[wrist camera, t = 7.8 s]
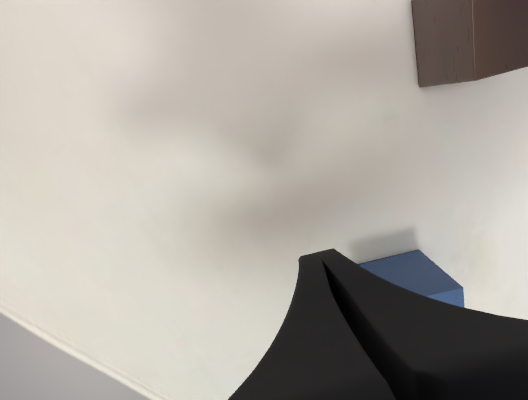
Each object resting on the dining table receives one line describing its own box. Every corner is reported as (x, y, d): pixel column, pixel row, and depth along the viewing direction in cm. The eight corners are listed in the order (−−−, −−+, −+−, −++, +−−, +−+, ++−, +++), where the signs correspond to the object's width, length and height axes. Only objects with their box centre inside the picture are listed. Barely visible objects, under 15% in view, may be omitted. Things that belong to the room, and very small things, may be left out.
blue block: (419, 249, 20) (463, 287, 16) (424, 302, 22) (467, 351, 17) (354, 265, 20) (382, 306, 16) (364, 317, 22) (391, 368, 18)
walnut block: (495, -23, 16) (587, -73, 11) (496, 66, 17) (579, 52, 13) (411, 0, 16) (470, -40, 11) (419, 87, 17) (474, 80, 13)
